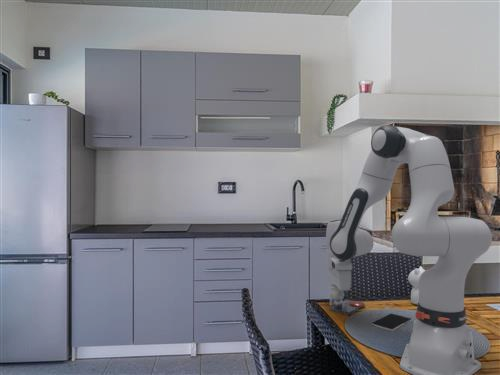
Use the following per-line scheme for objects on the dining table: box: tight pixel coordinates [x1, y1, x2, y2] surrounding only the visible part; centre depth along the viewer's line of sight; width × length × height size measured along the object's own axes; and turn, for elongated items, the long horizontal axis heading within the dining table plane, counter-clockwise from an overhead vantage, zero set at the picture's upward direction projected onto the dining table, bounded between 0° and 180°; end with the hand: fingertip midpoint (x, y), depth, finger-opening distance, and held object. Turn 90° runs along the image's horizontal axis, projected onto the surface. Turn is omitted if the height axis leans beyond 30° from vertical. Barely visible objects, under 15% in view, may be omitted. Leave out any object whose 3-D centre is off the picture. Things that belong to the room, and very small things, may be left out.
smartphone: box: [371, 313, 412, 332], centre depth 127 cm, size 8×1×15 cm
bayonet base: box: [329, 298, 366, 316], centre depth 143 cm, size 14×10×4 cm
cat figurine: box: [407, 265, 426, 306], centre depth 147 cm, size 9×12×15 cm
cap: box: [328, 284, 345, 300], centre depth 142 cm, size 6×5×5 cm
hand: (338, 296), depth 142 cm, fingers closed on cap, 4 cm apart
